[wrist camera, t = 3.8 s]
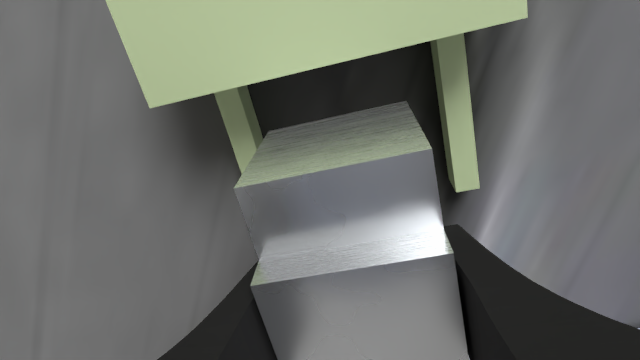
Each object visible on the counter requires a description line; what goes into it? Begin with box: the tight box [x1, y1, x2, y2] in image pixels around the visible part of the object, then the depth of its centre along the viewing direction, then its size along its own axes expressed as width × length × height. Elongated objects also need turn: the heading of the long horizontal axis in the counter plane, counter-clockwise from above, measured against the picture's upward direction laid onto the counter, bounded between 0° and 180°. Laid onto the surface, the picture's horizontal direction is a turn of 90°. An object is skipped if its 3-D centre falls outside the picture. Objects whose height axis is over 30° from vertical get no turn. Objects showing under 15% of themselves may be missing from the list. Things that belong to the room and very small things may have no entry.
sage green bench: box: [106, 0, 528, 192], centre depth 16 cm, size 11×12×5 cm
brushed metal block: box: [234, 101, 469, 360], centre depth 12 cm, size 7×4×6 cm, turn 14°
